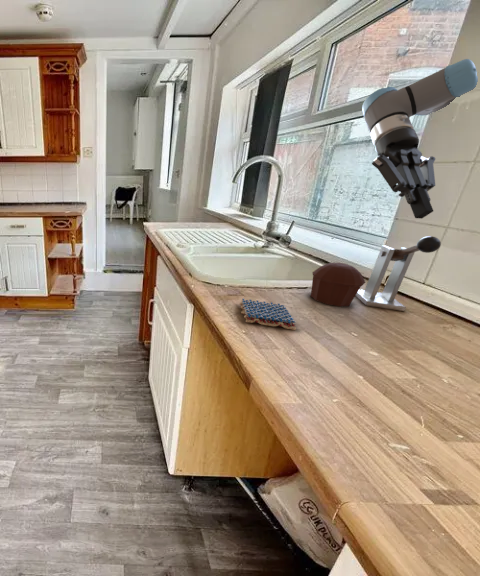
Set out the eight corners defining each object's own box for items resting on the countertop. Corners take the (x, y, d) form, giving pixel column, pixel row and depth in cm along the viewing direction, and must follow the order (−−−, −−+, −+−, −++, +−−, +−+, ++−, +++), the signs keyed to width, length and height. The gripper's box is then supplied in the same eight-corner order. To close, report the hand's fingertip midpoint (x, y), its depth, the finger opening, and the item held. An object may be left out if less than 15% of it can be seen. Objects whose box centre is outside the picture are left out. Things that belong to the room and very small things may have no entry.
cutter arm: (444, 251, 65) (446, 235, 65) (422, 249, 66) (425, 233, 66) (399, 263, 79) (401, 250, 79) (382, 261, 80) (384, 248, 81)
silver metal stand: (404, 311, 78) (429, 255, 72) (365, 305, 80) (387, 250, 75) (385, 297, 86) (407, 246, 81) (351, 292, 89) (370, 242, 84)
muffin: (302, 289, 90) (313, 256, 86) (348, 296, 86) (361, 262, 82) (309, 303, 80) (321, 267, 76) (362, 312, 76) (377, 274, 72)
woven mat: (244, 323, 68) (246, 315, 67) (238, 304, 77) (239, 297, 77) (296, 331, 65) (299, 323, 65) (283, 311, 75) (286, 303, 74)
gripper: (378, 125, 75) (408, 202, 66) (436, 126, 74) (474, 205, 65) (356, 149, 82) (379, 222, 72) (408, 151, 81) (439, 226, 71)
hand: (424, 214), depth 69 cm, fingers closed
